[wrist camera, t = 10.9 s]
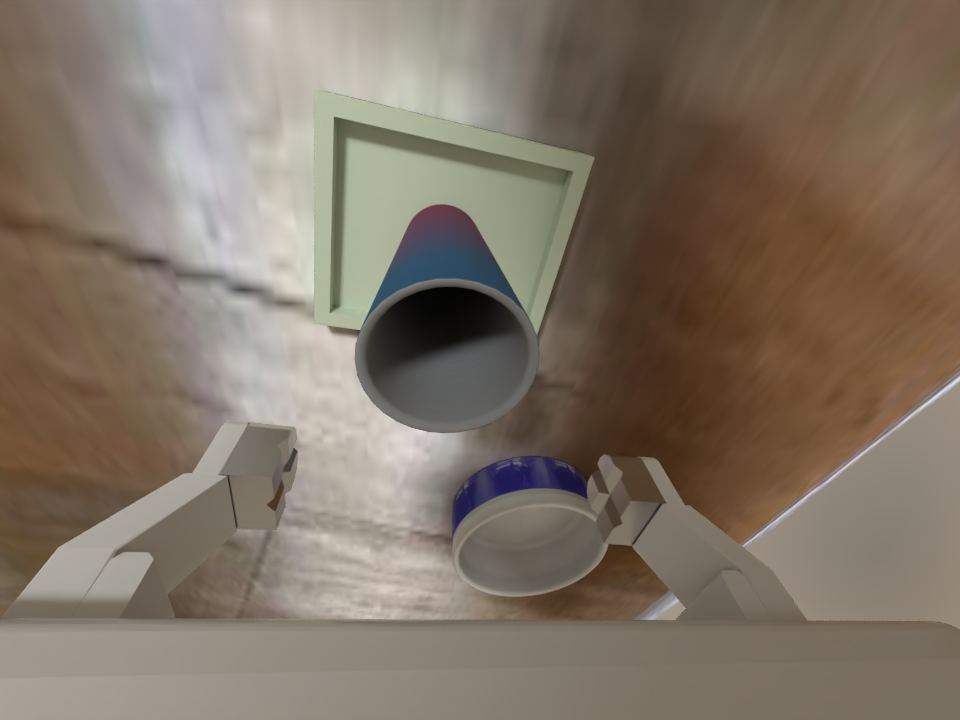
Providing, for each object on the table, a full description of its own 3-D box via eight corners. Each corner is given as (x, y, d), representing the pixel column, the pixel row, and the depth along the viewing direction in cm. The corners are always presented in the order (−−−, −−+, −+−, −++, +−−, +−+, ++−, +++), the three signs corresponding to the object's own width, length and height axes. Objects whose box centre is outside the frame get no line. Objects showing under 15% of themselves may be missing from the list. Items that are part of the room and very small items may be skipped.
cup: (475, 299, 30) (504, 445, 18) (382, 275, 29) (342, 417, 16) (506, 207, 27) (569, 306, 14) (403, 174, 25) (372, 254, 13)
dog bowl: (430, 477, 41) (429, 530, 36) (579, 436, 40) (600, 486, 35) (473, 557, 50) (478, 610, 45) (598, 526, 48) (617, 576, 43)
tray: (322, 90, 23) (314, 90, 22) (585, 153, 26) (594, 157, 25) (320, 312, 30) (314, 323, 29) (526, 341, 33) (531, 353, 32)
